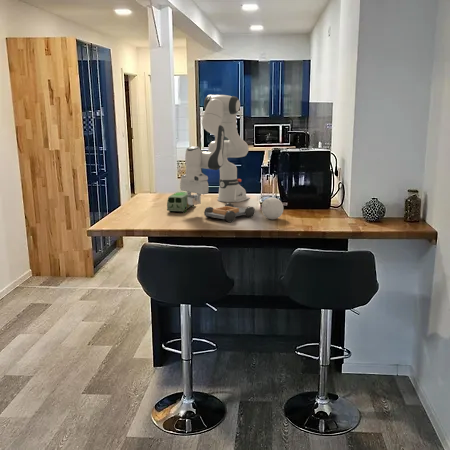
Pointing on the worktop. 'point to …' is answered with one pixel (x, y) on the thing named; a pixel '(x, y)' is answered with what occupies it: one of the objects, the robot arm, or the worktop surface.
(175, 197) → the toy car
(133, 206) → the worktop surface
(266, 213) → the decorative ball
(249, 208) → the chassis
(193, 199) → the grey wooden block
